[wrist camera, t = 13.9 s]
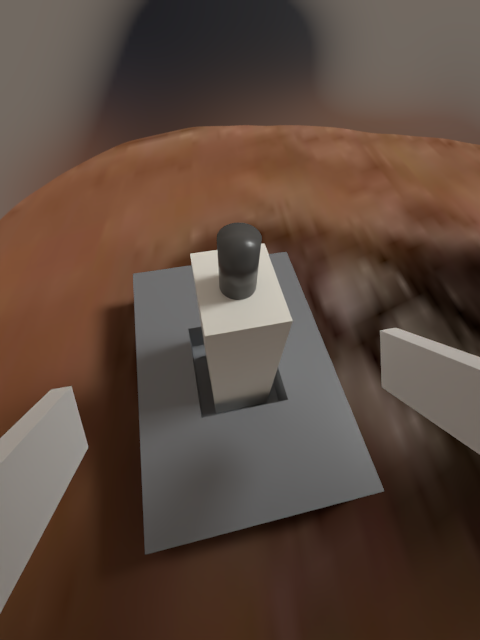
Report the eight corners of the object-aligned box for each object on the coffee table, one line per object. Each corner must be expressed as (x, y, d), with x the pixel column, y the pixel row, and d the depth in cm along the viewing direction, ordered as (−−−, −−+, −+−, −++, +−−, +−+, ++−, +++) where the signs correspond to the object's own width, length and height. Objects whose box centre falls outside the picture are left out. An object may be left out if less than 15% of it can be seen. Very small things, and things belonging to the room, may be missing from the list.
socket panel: (280, 279, 32) (286, 251, 29) (360, 494, 22) (384, 491, 18) (143, 300, 30) (132, 273, 27) (159, 547, 20) (145, 554, 16)
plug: (251, 346, 27) (270, 194, 14) (266, 402, 24) (306, 277, 11) (205, 355, 26) (182, 204, 13) (216, 413, 23) (198, 294, 11)
